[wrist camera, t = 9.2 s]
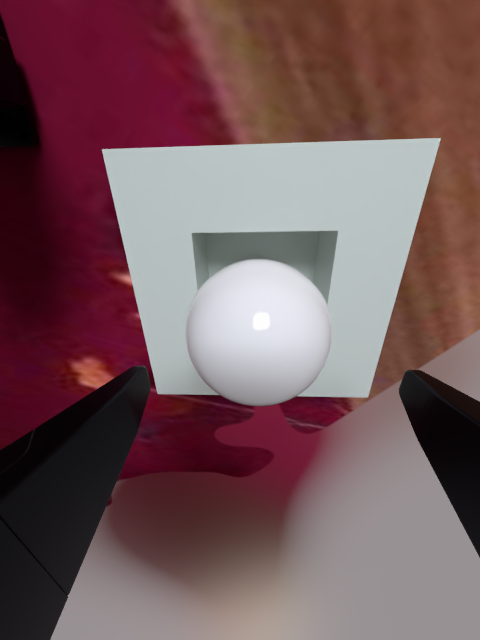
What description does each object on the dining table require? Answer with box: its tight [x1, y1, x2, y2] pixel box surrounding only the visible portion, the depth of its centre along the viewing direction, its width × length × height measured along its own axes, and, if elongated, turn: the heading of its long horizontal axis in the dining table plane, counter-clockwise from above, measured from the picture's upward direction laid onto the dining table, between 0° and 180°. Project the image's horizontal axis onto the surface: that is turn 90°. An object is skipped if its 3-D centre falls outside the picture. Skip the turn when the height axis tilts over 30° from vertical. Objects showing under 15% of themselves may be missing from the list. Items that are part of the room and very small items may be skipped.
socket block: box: [102, 138, 441, 397], centre depth 17 cm, size 15×15×5 cm
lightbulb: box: [185, 259, 333, 406], centre depth 14 cm, size 6×6×11 cm
